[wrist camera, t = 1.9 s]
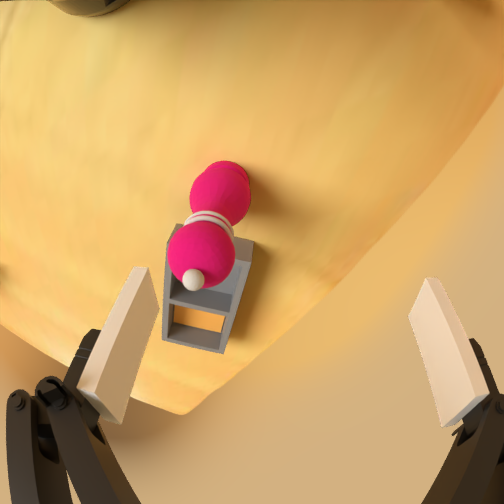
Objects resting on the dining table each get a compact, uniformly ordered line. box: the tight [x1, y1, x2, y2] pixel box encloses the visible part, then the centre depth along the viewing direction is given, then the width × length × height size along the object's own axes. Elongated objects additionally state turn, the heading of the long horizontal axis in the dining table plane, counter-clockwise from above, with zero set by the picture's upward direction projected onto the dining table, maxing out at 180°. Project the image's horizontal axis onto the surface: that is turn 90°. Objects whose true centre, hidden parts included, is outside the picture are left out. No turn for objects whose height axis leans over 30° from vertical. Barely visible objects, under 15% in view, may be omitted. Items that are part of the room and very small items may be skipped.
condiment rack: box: [162, 224, 254, 354], centre depth 49 cm, size 12×22×5 cm, turn 167°
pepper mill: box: [167, 161, 251, 291], centre depth 32 cm, size 7×7×20 cm
